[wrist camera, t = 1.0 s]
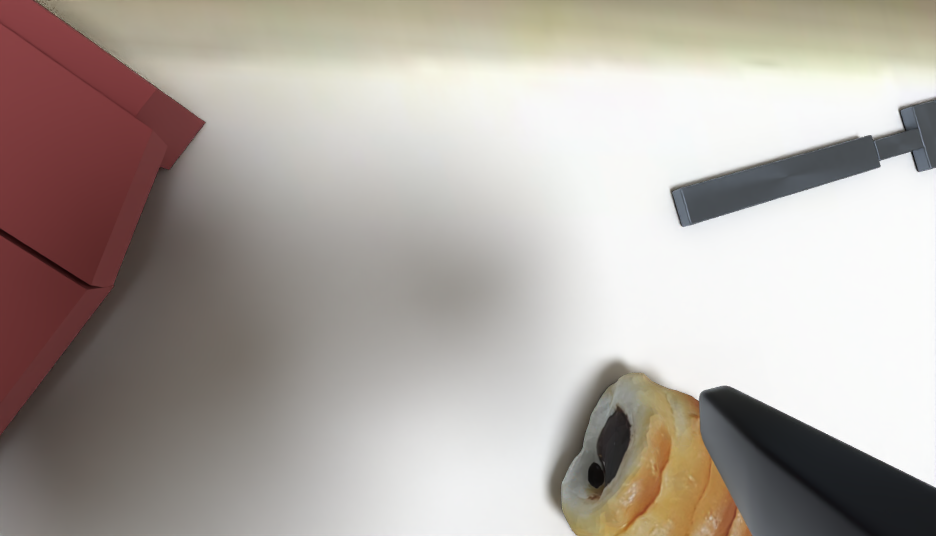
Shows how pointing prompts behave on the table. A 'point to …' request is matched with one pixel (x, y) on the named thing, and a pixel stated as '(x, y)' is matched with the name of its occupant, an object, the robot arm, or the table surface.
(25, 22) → the red angular block
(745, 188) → the fork
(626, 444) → the pastry
